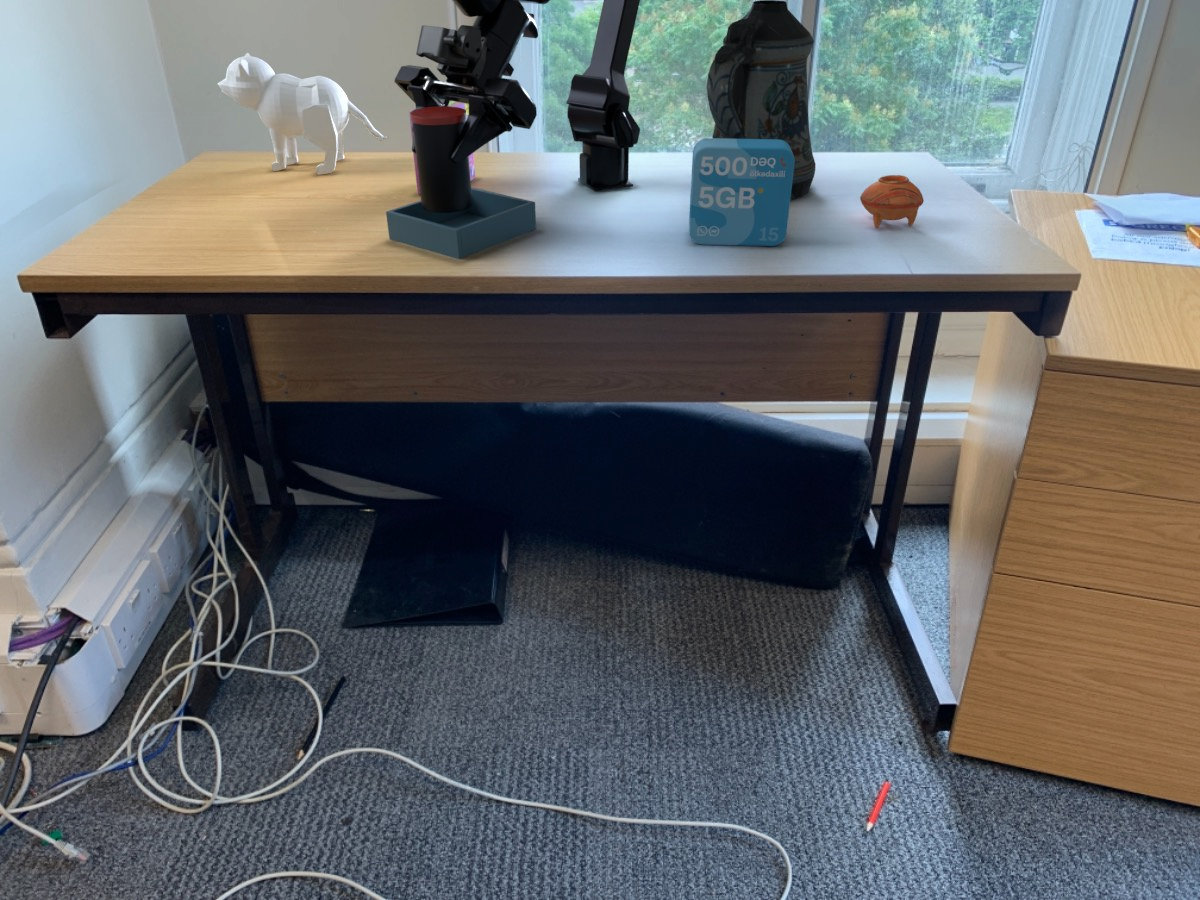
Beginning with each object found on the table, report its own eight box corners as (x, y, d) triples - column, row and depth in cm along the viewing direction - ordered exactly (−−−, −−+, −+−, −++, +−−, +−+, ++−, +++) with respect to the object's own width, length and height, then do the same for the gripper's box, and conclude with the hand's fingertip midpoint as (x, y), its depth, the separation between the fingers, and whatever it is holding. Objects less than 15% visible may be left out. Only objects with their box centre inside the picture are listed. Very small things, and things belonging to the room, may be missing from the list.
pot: (907, 236, 113) (904, 182, 110) (852, 236, 118) (847, 185, 115) (935, 219, 118) (933, 167, 115) (880, 221, 123) (877, 171, 120)
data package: (688, 244, 111) (693, 146, 104) (688, 233, 115) (693, 137, 108) (785, 247, 110) (796, 148, 104) (781, 235, 114) (792, 139, 107)
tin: (464, 195, 113) (456, 104, 107) (481, 209, 108) (473, 114, 102) (414, 201, 110) (403, 109, 104) (429, 216, 105) (418, 120, 99)
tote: (468, 215, 121) (466, 185, 119) (536, 232, 115) (535, 201, 113) (389, 242, 111) (385, 211, 109) (459, 263, 105) (456, 230, 103)
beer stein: (816, 176, 137) (839, -3, 124) (806, 213, 122) (831, 12, 108) (711, 169, 141) (722, -6, 128) (688, 203, 125) (698, 8, 112)
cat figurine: (395, 156, 148) (382, 48, 139) (389, 173, 139) (374, 58, 130) (241, 160, 146) (218, 50, 137) (225, 177, 137) (199, 61, 128)
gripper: (396, -9, 104) (336, 105, 103) (515, 0, 95) (451, 126, 93) (449, 54, 114) (396, 160, 112) (563, 69, 104) (506, 184, 103)
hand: (434, 157), depth 105 cm, fingers closed on tin, 6 cm apart
